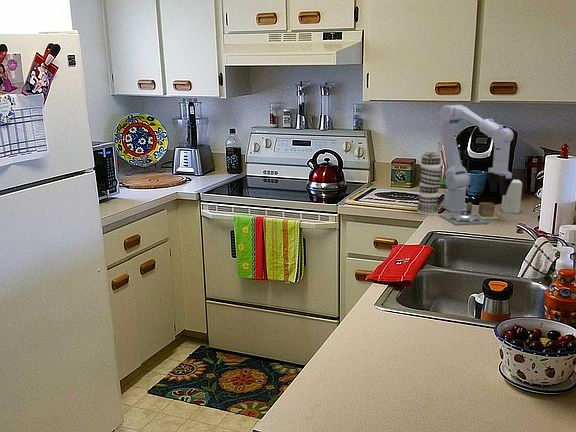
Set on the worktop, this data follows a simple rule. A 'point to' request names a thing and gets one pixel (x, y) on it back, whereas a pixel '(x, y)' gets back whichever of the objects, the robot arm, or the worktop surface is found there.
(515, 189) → the small box
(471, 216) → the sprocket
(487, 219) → the timing pad
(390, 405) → the worktop surface
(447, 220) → the slate board
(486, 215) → the link block
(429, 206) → the decorative candle
